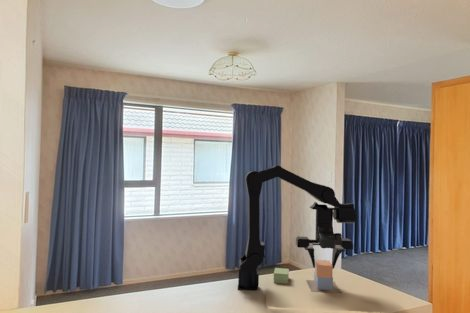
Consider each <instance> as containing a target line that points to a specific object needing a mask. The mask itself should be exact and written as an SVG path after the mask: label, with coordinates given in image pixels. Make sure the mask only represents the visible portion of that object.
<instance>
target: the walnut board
mask: <svg viewBox="0 0 470 313" xmlns="http://www.w3.org/2000/svg"><path fill="white" fill-rule="evenodd" d="M305 281H306V283H307V285H308V288H309V289H310V292H312V293H331V294H332V293H333V294H343V292H342V290H341V289H340V287H338V286H339V285H337V284H336V282H335V281H334V280H333V290H320V289H317V287H316V285H315V283H314V280H310V279H306V280H305Z"/></svg>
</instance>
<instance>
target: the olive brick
mask: <svg viewBox="0 0 470 313" xmlns="http://www.w3.org/2000/svg"><path fill="white" fill-rule="evenodd" d="M289 272H290V270H289V268H281V267H274V271H273V283H276V284H289Z"/></svg>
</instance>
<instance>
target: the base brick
mask: <svg viewBox="0 0 470 313" xmlns="http://www.w3.org/2000/svg"><path fill="white" fill-rule="evenodd" d="M313 273H314V274H313V278H314V283H315V285H316V287H317V289H320V290H333V281H334V277H333V276H332V278H323V277H317V276H316V273H315V270H314V272H313Z"/></svg>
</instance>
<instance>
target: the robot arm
mask: <svg viewBox="0 0 470 313" xmlns="http://www.w3.org/2000/svg"><path fill="white" fill-rule="evenodd" d="M277 178H278V179H280V180H282V181H283V182H286V183H288V184H290V185H292V186H294V187H297V189H301V190H302V191H304V192H306V193H307V194H308V195H310V196H311V198H314V199H315V200H316V201H317V202H316V201H315V202H313V204H312V205H311V206H309V208H310V210H315V239H312V238H311V239H310V238H308V236H300V235H299V236H296V237H295V245H296V247H297V248H303V249H304V250H305V251H307V252H308V255H309V257H310V261H311V264H312V267H313V268H314V269H315V260H316V259H315V248H314V246H320V248H321V249H332V254H331V255H332V257H331V264H332V266H333V270H334V269H335V266H336V264H337V261H338V258H339V257H340V255H341V254H342V253H345V252H346V250H349V251H350V250H354V242H353V240H351V239H350V238H348V237H347V238H346V237H342V233H340V232H336V233H335V232H334V227H333V226H334V222H333V220H335V222H336V223H337V224H355V223H356V221H357V212H356V208H355V205H354V203H353V202H352V203H351V202H350V203H340V201H339V200H338V199H337V197H336V193H335V190H334V189H333V188H332V187H330V186H327V185H324V184H320V183H316V182H312V181H310V180H308V179H305V178H303V177H302V176H299V175H297V174H296V173H294V172H291V171H289V170H287V169H286V168H284V167H282V166H281V165H274V166H272V167H270V168H269V167H268V168H266V169H263V170H261V171H257V170H252V171H249V172H248V173H247V174H246V175H245V179H244V182H245V185H246V192H247V196H248V238H247V243H246V248H245V254H243V255H242V256H241V257H240V259H239V267H238V281H237V282H238V284H237V290H246V291H247V290H248V291H249V290H251V291H257V290H258V287H259V282H260V281H259V280H260V279H259V277H260V275H259V272H258V267H259V266H260V265H261V264H263V262H264V258H266V256H265V249H266V246H265V245H266V244H265V243H264V241H261V238H260V236H261V235H260V198H261V192H262V187H263V183H265V182H267V181H270V180H272V179H277ZM318 202H320V203H321V204H320V203H319V204H318ZM328 205H329V206H331V207H328Z"/></svg>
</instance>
